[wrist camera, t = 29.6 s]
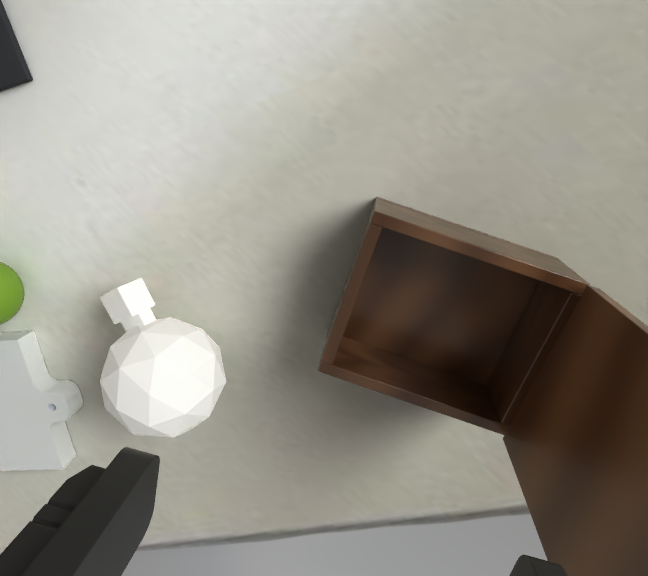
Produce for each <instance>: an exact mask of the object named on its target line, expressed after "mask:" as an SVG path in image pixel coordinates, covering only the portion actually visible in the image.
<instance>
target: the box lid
mask: <svg viewBox="0 0 648 576" xmlns="http://www.w3.org/2000/svg"><path fill="white" fill-rule="evenodd" d="M503 440H504V443H505V446H506V448H507V451H508V454H509V457H510V459H511V462H512V465H513V467H514V470H515V473H516V476H517V478H518V481H519V484H520V486H521V489H522V492H523V495H524V497H525V500H526V503H527V505H528V508H529V511H530V514H531V516H532V519H533V522H534V524H535V527H536V530H537V533H538V535H539V538H540V541H541V543H542V546H543V549H544V552H545V554H546V556H547V559H548V561H549V562H553V563H556V564H559V565H561V566H562V567H563V568H564V570H565V572H566V574H567V576H648V326H647V325H645V324H644V323H643V322H641V321H640V320H639V319H638V318H636V317H635V316H634V315H632V314H631V313H630V312H629V311H627V310H626V309H625V308H624V307H622V306H621V305H620V304H618V303H617V302H616V301H615V300H613V299H612V298H611V297H609V296H608V295H607V294H606V293H604V292H603V291H602V290H601V289H598V288H596V287H593V286H590V285H587V287H586V289H585V291H584V292H583V294H582V296H581V298H580V300H579V301H578V303H577V305H576V307H575V309H574V311H573V312H572V314H571V316H570V318H569V320H568V321H567V323H566V325H565V327H564V329H563V330H562V332H561V334H560V336H559V338H558V340H557V341H556V343H555V345H554V347H553V349H552V350H551V352H550V354H549V356H548V358H547V359H546V361H545V363H544V365H543V367H542V369H541V370H540V372H539V374H538V376H537V378H536V379H535V381H534V383H533V385H532V387H531V388H530V390H529V392H528V394H527V396H526V398H525V399H524V401H523V403H522V405H521V407H520V408H519V410H518V412H517V414H516V416H515V417H514V419H513V421H512V423H511V425H510V427H509V428H508V430H507V432H506V434H505V436H504V437H503Z"/></svg>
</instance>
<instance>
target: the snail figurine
mask: <svg viewBox="0 0 648 576" xmlns="http://www.w3.org/2000/svg"><path fill="white" fill-rule="evenodd" d="M23 300H24V287H23V283H22V281H21V279H20V277H19V276H18V275H17V273H16V272H15V271H14V270H13V269H11V268H10V267H9V266H7V265H5V264H3V263H1V262H0V324H3V323H5V322H6V321H8V320H10V319H11V318H12V317H13V316H14V315H15V314H16V313H17V312H18V311H19V309H20V307H21V305H22V303H23Z"/></svg>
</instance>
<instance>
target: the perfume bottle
mask: <svg viewBox="0 0 648 576" xmlns="http://www.w3.org/2000/svg"><path fill="white" fill-rule="evenodd" d="M100 299H101V301H102V303H103V305H104V306H105V308H106V310H107V312H108V314H109V316H110V318H111V319H112V321H113V323H114V325H115V324H117V323H119V322H121V324H122V325H123V327H124V329H125V331H126V333H125V334H124V335H122V336H121V337H120V338H119V339H118V340H117V341H116V342H115V343H114V344H112V345H111V346H110V349H109V352H108V355H107V358H106V361H105V364H104V367H103V370H102V374H101V379H100V385H101V390H102V395H103V400H104V406H105V409H106V410H107V411H108V412H109V413H110V414H111V415H112V416H113V417H114V418H115V419H116V420H117V421H119V422H120V423H121V424H122V425H123V426H124V427H125V428H126V429H127V430H128V431H129V432H130V433H131V434H132V435H143V436H159V437H176V436H178V435H180V434H183V433H185V432H187V431H189V430H192V429H193V428H195V427H196V426H197V425H199V424H200V423H201V422H203V421H204V420H205V419H207V418H208V417H209V416H210V414H211V412H212V410H213V408H214V406H215V404H216V402H217V400H218V398H219V396H220V394H221V392H222V389H223V387H224V385H225V383H226V378H225V373H224V367H223V362H222V357H221V352H220V347H219V346H218V345H217V344H216V343H215V342H214V341H213V340H212V339H211V338H210V337H209V336H208V335H207V334H206V333H205V331H204V330H203V329H201V328H199V327H196V326H194V325H191V324H188V323H185V322H183V321H180V320H177V319H174V318H172V317H168V318H162V319H156V318H155V316H154V314H153V312H152V310H151V307H153V306H155V303H154V301H153V299H152V297H151V295H150V293H149V291H148V289H147V287H146V285H145V284H144V282H143V280H142V278H140V279H138V280H135V281H133V282H130V283H128V284H125V285H123V286H120V287H118V288H116V289H114V290H112V291H110V292H108V293H106V294H104V295H103V296H101V297H100Z"/></svg>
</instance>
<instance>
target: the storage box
mask: <svg viewBox="0 0 648 576" xmlns="http://www.w3.org/2000/svg"><path fill="white" fill-rule="evenodd" d="M587 285H590V284H589V283H588V282H586V281H585V280H584V279H583V278H581V277H580V276H579V275H578V274H576V273H575V272H574V271H573V270H571V269H570V268H569V267H568V266H566V265H565V264H564V263H563V262H561V261H560V260H559V259H558V258H555V257H552V256H549V255H546V254H543V253H541V252H538V251H535V250H532V249H529V248H526V247H523V246H520V245H517V244H514V243H511V242H508V241H505V240H502V239H499V238H496V237H493V236H490V235H488V234H485V233H482V232H479V231H476V230H473V229H470V228H467V227H464V226H461V225H458V224H455V223H452V222H449V221H446V220H443V219H440V218H438V217H435V216H432V215H429V214H426V213H423V212H420V211H417V210H414V209H411V208H408V207H405V206H402V205H399V204H396V203H393V202H390V201H388V200H385V199H382V198H379V197H376V199H375V202H374V205H373V208H372V211H371V213H370V216H369V219H368V222H367V225H366V228H365V230H364V233H363V236H362V239H361V242H360V245H359V247H358V250H357V253H356V256H355V259H354V261H353V264H352V267H351V270H350V273H349V276H348V278H347V281H346V284H345V287H344V290H343V292H342V295H341V298H340V301H339V304H338V307H337V309H336V312H335V315H334V318H333V321H332V324H331V326H330V329H329V332H328V335H327V338H326V342H325V346H324V349H323V353H322V356H321V360H320V364H319V367H318V371H320V372H322V373H325V374H328V375H331V376H334V377H337V378H340V379H343V380H346V381H349V382H352V383H354V384H357V385H360V386H363V387H366V388H369V389H372V390H375V391H378V392H381V393H383V394H386V395H389V396H392V397H395V398H398V399H401V400H404V401H407V402H410V403H412V404H415V405H418V406H421V407H424V408H427V409H430V410H433V411H436V412H439V413H442V414H444V415H447V416H450V417H453V418H456V419H459V420H462V421H465V422H468V423H471V424H473V425H476V426H479V427H482V428H485V429H488V430H491V431H494V432H497V433H500V434H503V435H505V434H506V432H507V430H508V428H509V427H510V425H511V423H512V421H513V419H514V417H515V416H516V414H517V412H518V410H519V408H520V407H521V405H522V403H523V401H524V399H525V398H526V396H527V394H528V392H529V390H530V388H531V387H532V385H533V383H534V381H535V379H536V378H537V376H538V374H539V372H540V370H541V369H542V367H543V365H544V363H545V361H546V359H547V358H548V356H549V354H550V352H551V350H552V349H553V347H554V345H555V343H556V341H557V340H558V338H559V336H560V334H561V332H562V330H563V329H564V327H565V325H566V323H567V321H568V320H569V318H570V316H571V314H572V312H573V311H574V309H575V307H576V305H577V303H578V301H579V300H580V298H581V296H582V294H583V292H584V291H585V289H586V287H587Z"/></svg>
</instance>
